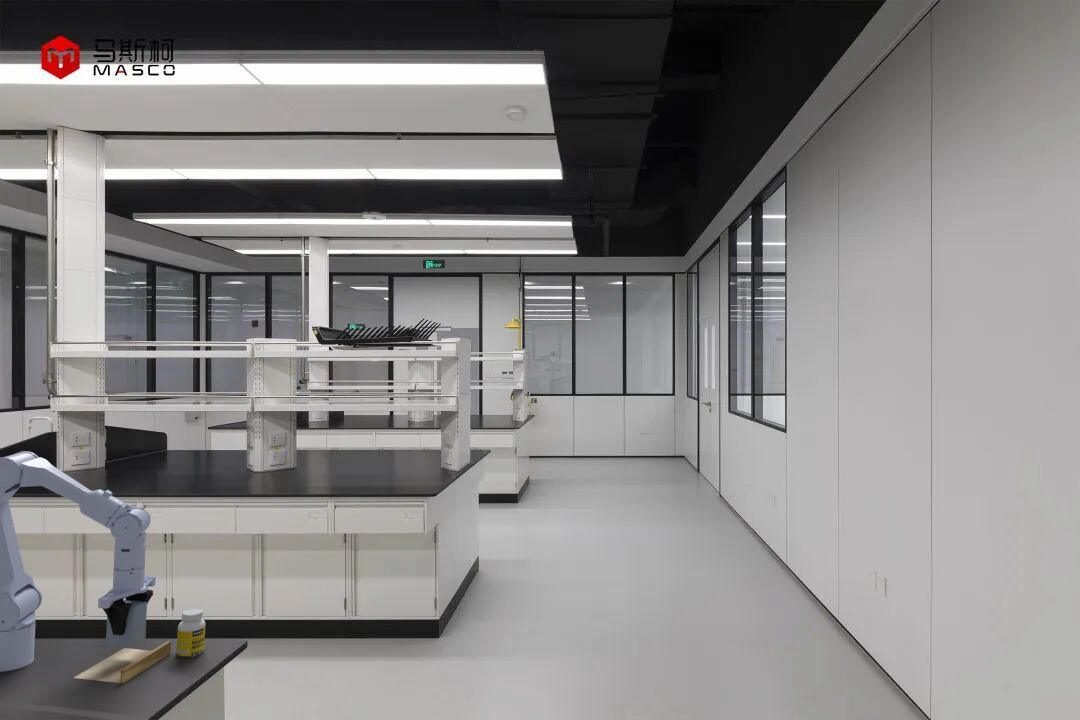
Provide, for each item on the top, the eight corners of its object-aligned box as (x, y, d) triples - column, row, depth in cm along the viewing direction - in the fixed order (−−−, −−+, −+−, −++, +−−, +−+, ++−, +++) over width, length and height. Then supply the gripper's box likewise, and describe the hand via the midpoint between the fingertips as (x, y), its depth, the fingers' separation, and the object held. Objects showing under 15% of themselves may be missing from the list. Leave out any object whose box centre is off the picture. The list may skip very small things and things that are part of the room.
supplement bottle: (192, 663, 144) (194, 617, 144) (170, 659, 146) (172, 614, 146) (209, 652, 150) (211, 608, 150) (188, 649, 151) (190, 605, 151)
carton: (132, 646, 142) (133, 608, 142) (105, 644, 142) (107, 606, 142) (146, 638, 146) (147, 601, 146) (120, 635, 146) (122, 599, 146)
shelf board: (72, 681, 134) (73, 665, 134) (124, 651, 148) (124, 636, 148) (123, 687, 133) (124, 670, 133) (170, 656, 147) (171, 641, 147)
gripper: (121, 579, 136) (118, 645, 136) (169, 558, 151) (166, 618, 151) (89, 576, 137) (86, 642, 137) (140, 555, 151) (137, 615, 152)
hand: (126, 629), depth 144 cm, fingers closed on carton, 4 cm apart
